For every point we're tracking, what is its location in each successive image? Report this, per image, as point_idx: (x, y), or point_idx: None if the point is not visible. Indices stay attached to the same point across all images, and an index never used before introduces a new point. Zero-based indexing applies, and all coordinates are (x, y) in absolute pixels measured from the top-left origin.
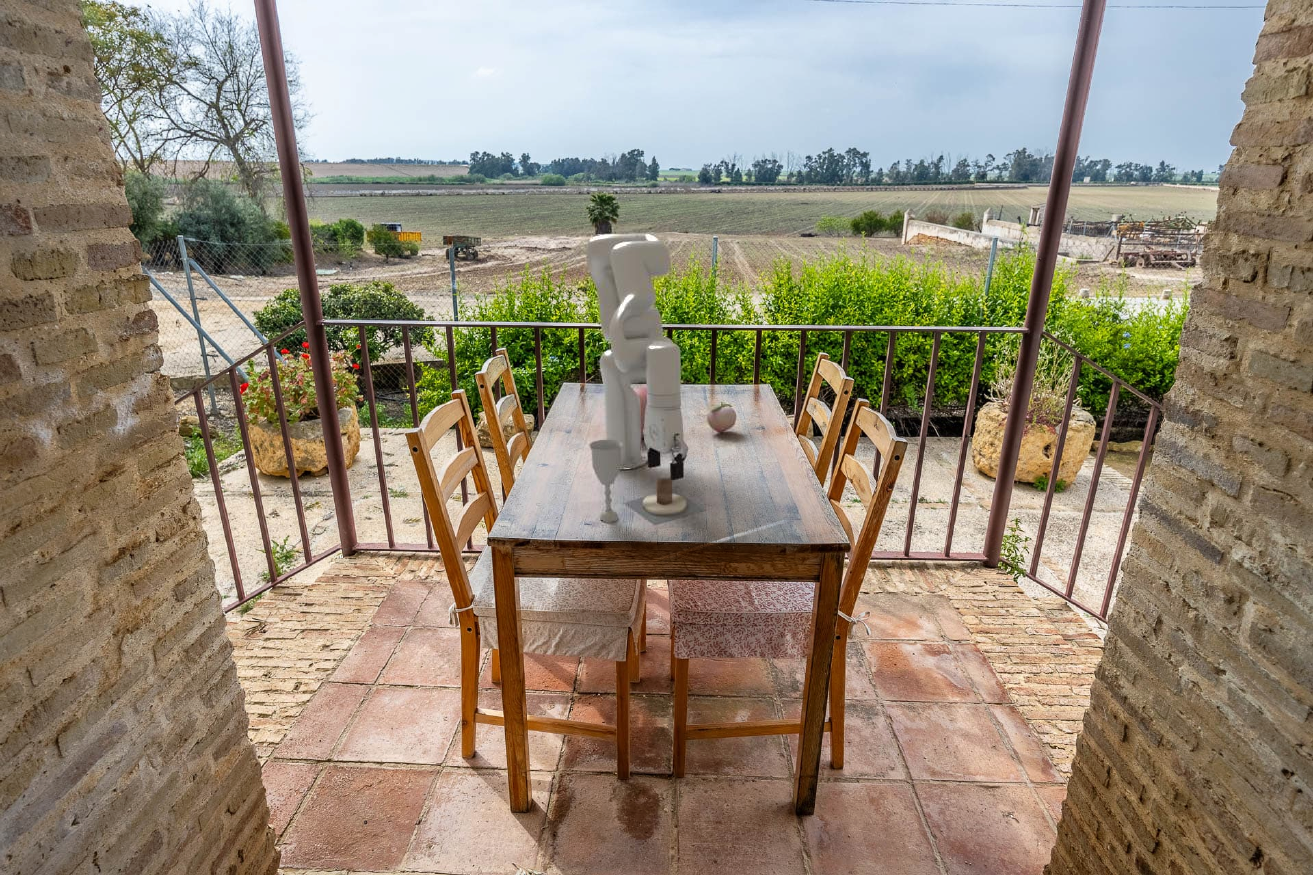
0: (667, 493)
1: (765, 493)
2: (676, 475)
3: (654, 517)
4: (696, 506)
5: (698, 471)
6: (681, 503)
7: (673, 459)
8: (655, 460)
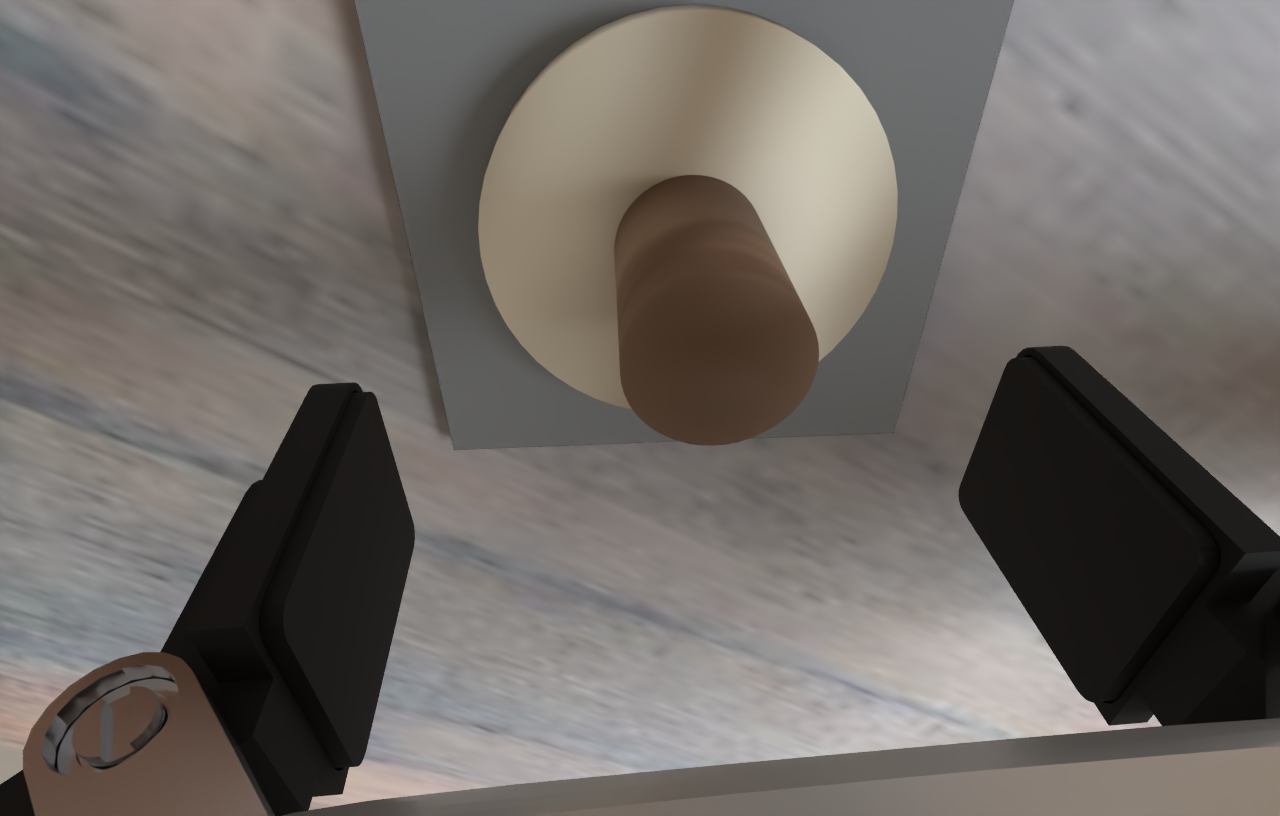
0: (619, 294)
1: (545, 731)
2: (249, 488)
3: (507, 1)
4: (543, 425)
5: (1003, 643)
6: (570, 349)
7: (121, 768)
8: (1034, 507)
